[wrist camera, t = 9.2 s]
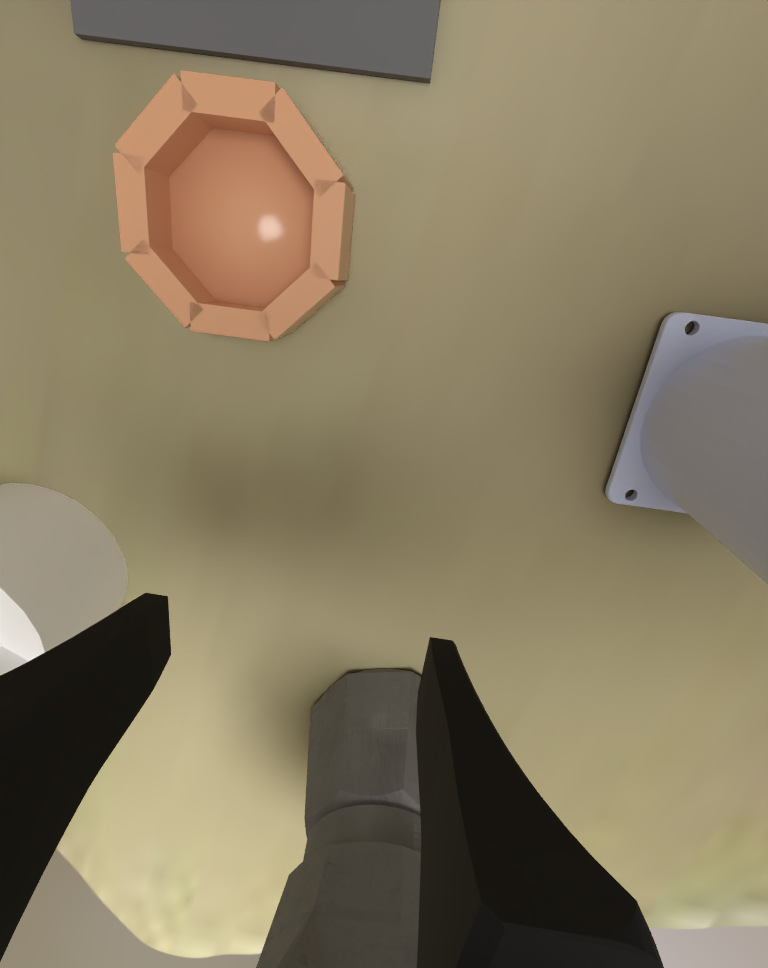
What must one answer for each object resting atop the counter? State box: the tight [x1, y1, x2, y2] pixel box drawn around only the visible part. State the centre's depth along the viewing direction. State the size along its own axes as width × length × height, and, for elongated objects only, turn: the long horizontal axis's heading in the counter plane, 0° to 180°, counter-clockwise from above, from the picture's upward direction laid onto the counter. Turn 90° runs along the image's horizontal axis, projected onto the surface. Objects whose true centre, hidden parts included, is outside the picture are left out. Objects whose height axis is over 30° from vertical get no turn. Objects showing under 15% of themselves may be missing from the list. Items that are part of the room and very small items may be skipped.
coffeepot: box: [256, 668, 421, 968], centre depth 20 cm, size 15×9×18 cm, turn 29°
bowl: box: [113, 70, 355, 341], centre depth 17 cm, size 8×8×2 cm
